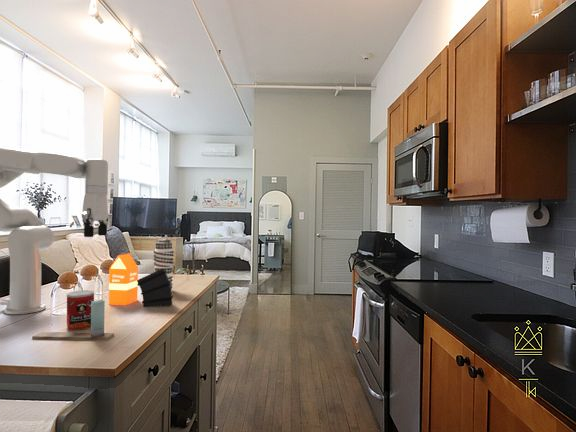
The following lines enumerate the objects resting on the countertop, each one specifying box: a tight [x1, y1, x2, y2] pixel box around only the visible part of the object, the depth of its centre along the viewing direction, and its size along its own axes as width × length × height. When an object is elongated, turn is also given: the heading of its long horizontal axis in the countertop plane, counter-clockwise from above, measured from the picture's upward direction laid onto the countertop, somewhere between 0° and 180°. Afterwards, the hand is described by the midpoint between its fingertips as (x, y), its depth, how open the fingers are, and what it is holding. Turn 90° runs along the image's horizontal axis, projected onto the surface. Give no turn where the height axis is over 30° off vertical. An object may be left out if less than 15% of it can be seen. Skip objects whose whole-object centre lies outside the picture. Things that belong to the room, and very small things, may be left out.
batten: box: [32, 331, 115, 341], centre depth 107 cm, size 22×4×1 cm, turn 90°
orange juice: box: [108, 253, 139, 306], centre depth 150 cm, size 8×9×20 cm
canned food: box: [66, 290, 95, 331], centre depth 117 cm, size 8×8×11 cm
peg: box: [90, 299, 106, 337], centre depth 107 cm, size 4×4×10 cm
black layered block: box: [137, 268, 174, 308], centre depth 145 cm, size 4×13×15 cm, turn 100°
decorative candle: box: [153, 238, 175, 293], centre depth 172 cm, size 9×9×25 cm
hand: (95, 236), depth 137 cm, fingers open, 9 cm apart
